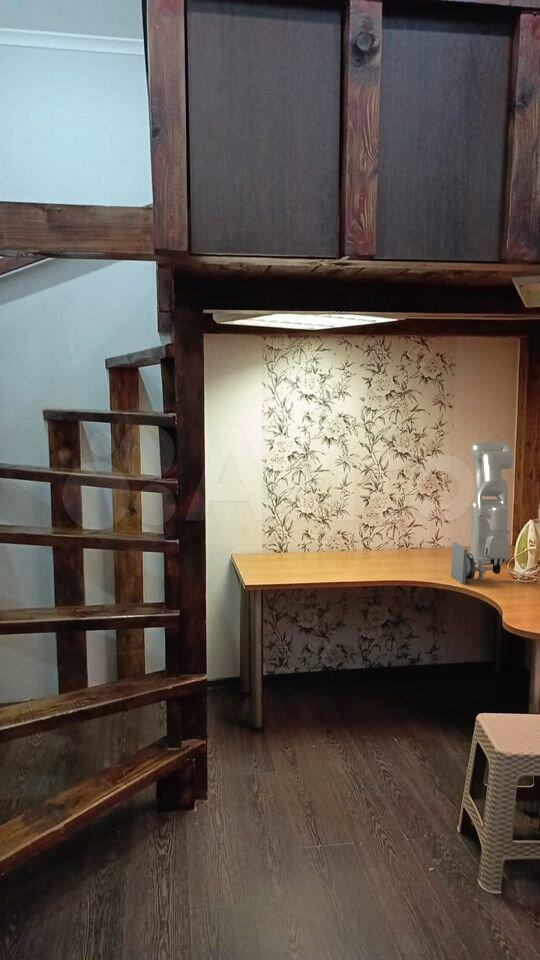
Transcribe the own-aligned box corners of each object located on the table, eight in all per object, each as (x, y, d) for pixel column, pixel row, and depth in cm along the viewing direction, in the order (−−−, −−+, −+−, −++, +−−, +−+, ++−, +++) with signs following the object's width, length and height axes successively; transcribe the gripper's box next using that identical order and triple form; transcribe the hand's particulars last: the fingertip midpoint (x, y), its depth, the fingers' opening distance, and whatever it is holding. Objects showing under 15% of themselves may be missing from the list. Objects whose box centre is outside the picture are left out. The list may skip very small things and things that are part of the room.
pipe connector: (467, 576, 303) (466, 556, 302) (489, 575, 302) (488, 554, 301) (472, 584, 293) (471, 562, 292) (495, 582, 293) (494, 560, 291)
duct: (463, 574, 303) (465, 550, 301) (474, 582, 292) (476, 556, 290) (454, 575, 302) (455, 550, 301) (465, 582, 291) (466, 557, 289)
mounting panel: (462, 575, 304) (464, 542, 301) (474, 584, 291) (476, 549, 289) (450, 576, 303) (452, 542, 301) (462, 584, 290) (464, 549, 288)
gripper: (509, 531, 300) (507, 570, 302) (478, 532, 298) (476, 571, 300) (518, 534, 293) (515, 574, 295) (486, 535, 291) (484, 575, 293)
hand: (496, 573), depth 297 cm, fingers closed
